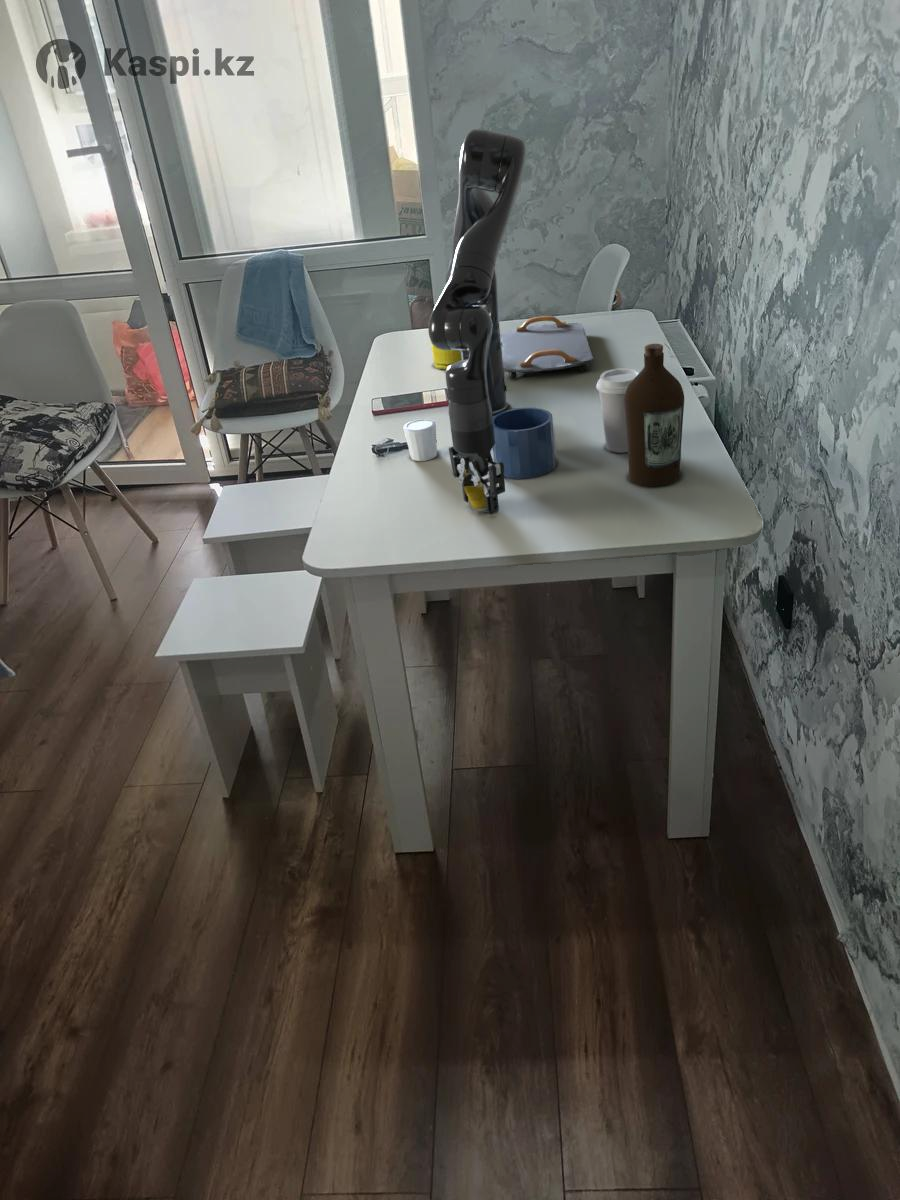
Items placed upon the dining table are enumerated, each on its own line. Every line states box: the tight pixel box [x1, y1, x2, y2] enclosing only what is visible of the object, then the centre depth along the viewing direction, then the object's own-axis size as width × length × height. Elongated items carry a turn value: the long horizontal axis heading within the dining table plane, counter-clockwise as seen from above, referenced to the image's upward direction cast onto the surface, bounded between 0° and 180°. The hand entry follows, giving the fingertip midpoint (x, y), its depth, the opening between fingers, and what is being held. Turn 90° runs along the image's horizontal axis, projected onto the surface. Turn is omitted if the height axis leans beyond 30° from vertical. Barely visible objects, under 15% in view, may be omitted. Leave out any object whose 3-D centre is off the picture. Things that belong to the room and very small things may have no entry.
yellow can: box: [427, 318, 462, 370], centre depth 243 cm, size 9×9×12 cm
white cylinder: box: [403, 418, 438, 462], centre depth 193 cm, size 7×7×7 cm
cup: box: [492, 407, 556, 480], centre depth 181 cm, size 12×12×10 cm
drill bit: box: [464, 484, 490, 514], centre depth 167 cm, size 5×5×10 cm
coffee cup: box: [595, 367, 641, 454], centre depth 182 cm, size 10×10×15 cm
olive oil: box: [624, 343, 685, 488], centre depth 166 cm, size 11×11×25 cm
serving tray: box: [500, 315, 594, 381], centre depth 240 cm, size 39×23×6 cm, turn 178°
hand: (481, 506), depth 168 cm, fingers open, 6 cm apart
